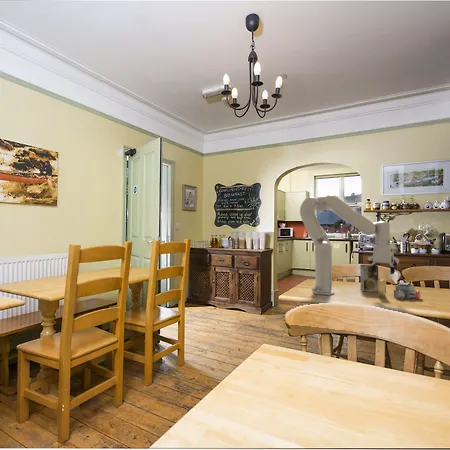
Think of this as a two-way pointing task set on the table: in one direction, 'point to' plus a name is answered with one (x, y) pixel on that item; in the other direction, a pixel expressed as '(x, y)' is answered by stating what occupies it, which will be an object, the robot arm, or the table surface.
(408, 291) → the valve body
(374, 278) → the coffee box
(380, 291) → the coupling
